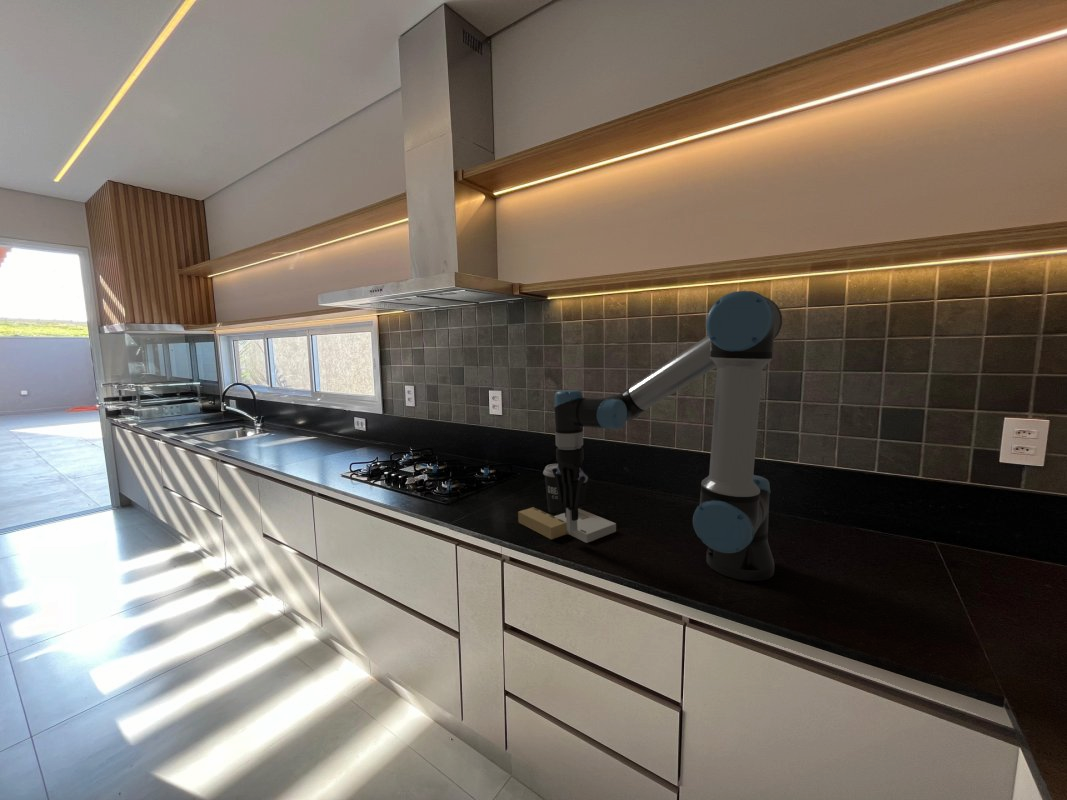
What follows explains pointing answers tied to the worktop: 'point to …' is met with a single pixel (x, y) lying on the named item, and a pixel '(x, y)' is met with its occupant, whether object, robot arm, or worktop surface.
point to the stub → (542, 523)
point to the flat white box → (590, 526)
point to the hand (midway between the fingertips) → (572, 530)
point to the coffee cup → (552, 491)
